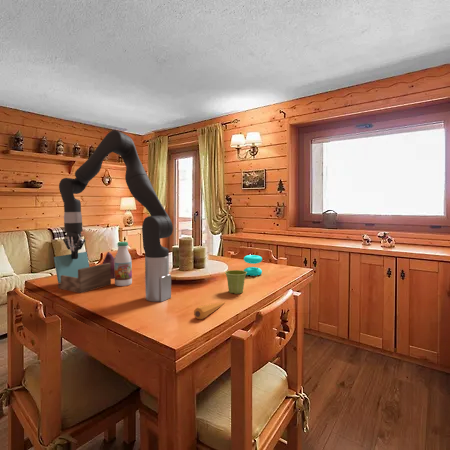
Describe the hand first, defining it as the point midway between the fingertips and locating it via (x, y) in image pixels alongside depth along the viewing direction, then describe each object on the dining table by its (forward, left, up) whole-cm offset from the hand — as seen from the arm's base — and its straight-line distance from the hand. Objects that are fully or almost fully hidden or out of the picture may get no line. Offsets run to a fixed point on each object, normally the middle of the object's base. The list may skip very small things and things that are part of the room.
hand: (74, 258), depth 141 cm
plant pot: (-71, -25, -12) cm, 77 cm away
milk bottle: (-19, -11, -12) cm, 25 cm away
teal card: (+1, 0, -10) cm, 10 cm away
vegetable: (-2, -19, -12) cm, 23 cm away
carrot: (-74, 0, -13) cm, 75 cm away
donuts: (-65, -59, -12) cm, 89 cm away
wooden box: (-7, 0, -12) cm, 14 cm away
